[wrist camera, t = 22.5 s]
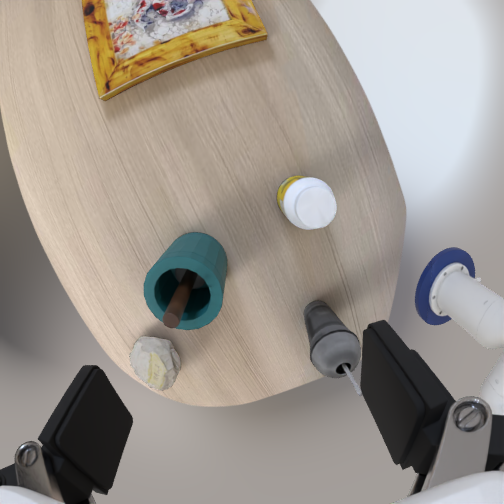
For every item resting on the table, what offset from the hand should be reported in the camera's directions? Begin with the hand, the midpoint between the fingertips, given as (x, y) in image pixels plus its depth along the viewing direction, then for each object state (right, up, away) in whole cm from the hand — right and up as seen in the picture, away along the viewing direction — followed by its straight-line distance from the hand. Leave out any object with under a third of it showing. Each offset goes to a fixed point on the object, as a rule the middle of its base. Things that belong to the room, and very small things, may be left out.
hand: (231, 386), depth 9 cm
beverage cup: (+12, -6, +38) cm, 41 cm away
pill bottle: (+7, +13, +32) cm, 36 cm away
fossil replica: (-17, -14, +40) cm, 46 cm away
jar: (-8, +3, +35) cm, 36 cm away
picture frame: (-15, +46, +21) cm, 53 cm away
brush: (-8, +3, +34) cm, 35 cm away
